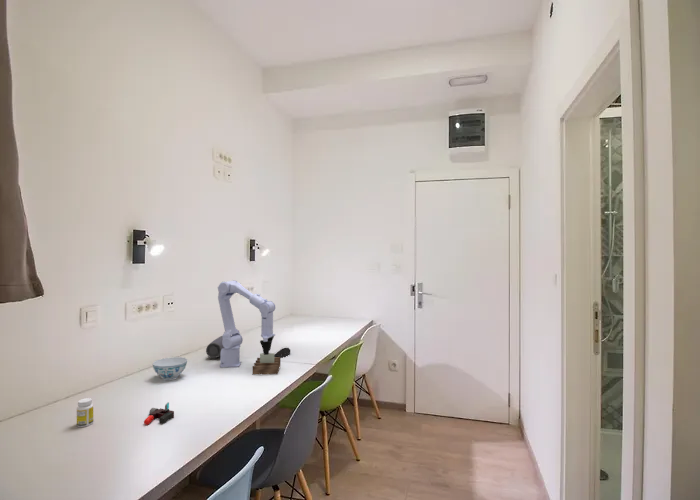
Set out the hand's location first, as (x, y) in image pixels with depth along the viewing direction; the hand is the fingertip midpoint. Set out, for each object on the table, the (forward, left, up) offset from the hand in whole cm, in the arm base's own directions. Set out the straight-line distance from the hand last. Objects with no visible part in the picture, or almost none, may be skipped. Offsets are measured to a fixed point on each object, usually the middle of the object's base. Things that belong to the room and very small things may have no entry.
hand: (267, 352), depth 195 cm
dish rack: (0, 0, -9) cm, 9 cm away
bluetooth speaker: (-30, +30, -9) cm, 43 cm away
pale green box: (0, 0, -8) cm, 8 cm away
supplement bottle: (-55, -57, -9) cm, 80 cm away
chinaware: (-44, -9, -9) cm, 46 cm away
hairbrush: (+3, +21, -9) cm, 23 cm away
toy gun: (-33, -55, -9) cm, 64 cm away
